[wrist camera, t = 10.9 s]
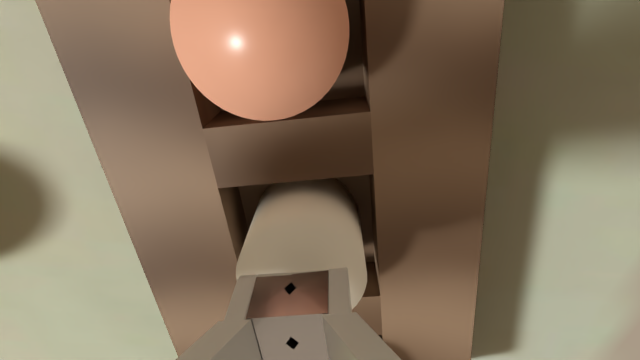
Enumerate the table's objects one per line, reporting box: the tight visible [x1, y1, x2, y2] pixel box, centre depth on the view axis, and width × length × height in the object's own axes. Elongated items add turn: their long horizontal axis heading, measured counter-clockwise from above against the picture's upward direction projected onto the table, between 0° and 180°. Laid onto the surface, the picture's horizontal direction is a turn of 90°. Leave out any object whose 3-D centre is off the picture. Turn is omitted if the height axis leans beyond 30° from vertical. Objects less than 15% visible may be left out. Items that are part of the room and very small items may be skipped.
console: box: [35, 0, 504, 360], centre depth 14 cm, size 22×12×4 cm, turn 6°
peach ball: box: [170, 0, 349, 121], centre depth 10 cm, size 4×4×4 cm
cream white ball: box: [236, 178, 367, 309], centre depth 13 cm, size 4×4×4 cm
